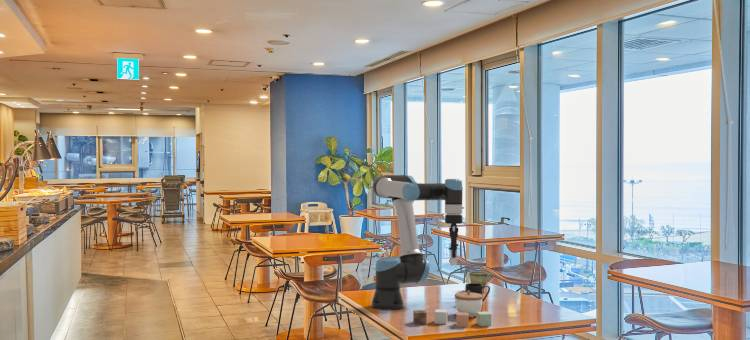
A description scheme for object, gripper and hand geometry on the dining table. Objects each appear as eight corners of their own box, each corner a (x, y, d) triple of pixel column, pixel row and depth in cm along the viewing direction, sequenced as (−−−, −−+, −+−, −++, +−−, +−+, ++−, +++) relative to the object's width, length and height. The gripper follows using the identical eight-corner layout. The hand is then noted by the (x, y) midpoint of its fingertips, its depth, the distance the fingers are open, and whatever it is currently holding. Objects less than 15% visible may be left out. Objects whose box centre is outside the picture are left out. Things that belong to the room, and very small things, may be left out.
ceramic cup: (468, 291, 343) (468, 273, 343) (469, 288, 353) (469, 270, 353) (492, 293, 341) (492, 274, 341) (493, 289, 350) (493, 271, 350)
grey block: (434, 323, 272) (434, 311, 272) (436, 320, 277) (436, 309, 277) (446, 324, 271) (446, 312, 271) (447, 321, 276) (447, 309, 276)
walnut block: (414, 324, 269) (414, 312, 269) (413, 321, 274) (413, 310, 274) (426, 324, 270) (426, 312, 270) (424, 321, 275) (425, 310, 275)
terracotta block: (456, 326, 267) (456, 314, 267) (456, 323, 272) (456, 312, 272) (468, 327, 266) (468, 315, 266) (468, 324, 271) (468, 312, 271)
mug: (491, 306, 308) (492, 286, 308) (467, 306, 307) (467, 286, 307) (487, 302, 316) (487, 283, 316) (463, 302, 315) (464, 283, 315)
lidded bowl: (460, 310, 297) (461, 287, 297) (486, 314, 291) (486, 289, 291) (450, 315, 286) (450, 291, 286) (476, 319, 280) (476, 294, 280)
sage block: (479, 326, 268) (479, 314, 268) (476, 323, 273) (476, 311, 273) (491, 326, 269) (491, 314, 269) (487, 323, 274) (487, 311, 274)
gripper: (462, 215, 264) (463, 267, 264) (461, 213, 289) (462, 260, 288) (444, 215, 265) (444, 266, 264) (445, 212, 290) (445, 259, 289)
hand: (453, 263), depth 276 cm, fingers open, 13 cm apart
